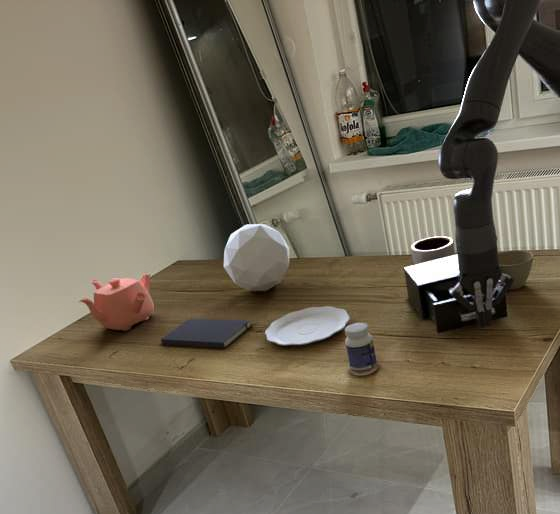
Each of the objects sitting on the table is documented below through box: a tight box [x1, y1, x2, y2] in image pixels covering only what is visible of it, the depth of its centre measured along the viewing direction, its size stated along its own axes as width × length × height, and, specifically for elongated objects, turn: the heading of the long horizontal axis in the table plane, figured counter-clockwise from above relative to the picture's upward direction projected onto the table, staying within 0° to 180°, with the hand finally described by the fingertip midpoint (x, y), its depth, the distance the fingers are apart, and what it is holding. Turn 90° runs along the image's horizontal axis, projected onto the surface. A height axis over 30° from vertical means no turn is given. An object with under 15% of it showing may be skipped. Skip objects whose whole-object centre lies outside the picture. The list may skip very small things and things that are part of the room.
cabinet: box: [403, 254, 459, 321], centre depth 161 cm, size 14×17×9 cm
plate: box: [264, 305, 351, 346], centre depth 167 cm, size 21×21×2 cm
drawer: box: [422, 279, 509, 334], centre depth 149 cm, size 17×15×7 cm
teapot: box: [77, 273, 155, 332], centre depth 199 cm, size 18×18×14 cm
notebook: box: [160, 317, 252, 349], centre depth 179 cm, size 13×2×21 cm
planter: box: [410, 236, 456, 265], centre depth 175 cm, size 11×11×10 cm
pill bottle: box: [344, 322, 378, 377], centre depth 141 cm, size 6×6×10 cm
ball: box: [223, 223, 290, 292], centre depth 198 cm, size 19×20×20 cm
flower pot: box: [497, 249, 534, 291], centre depth 161 cm, size 10×10×7 cm
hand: (484, 325), depth 139 cm, fingers closed
